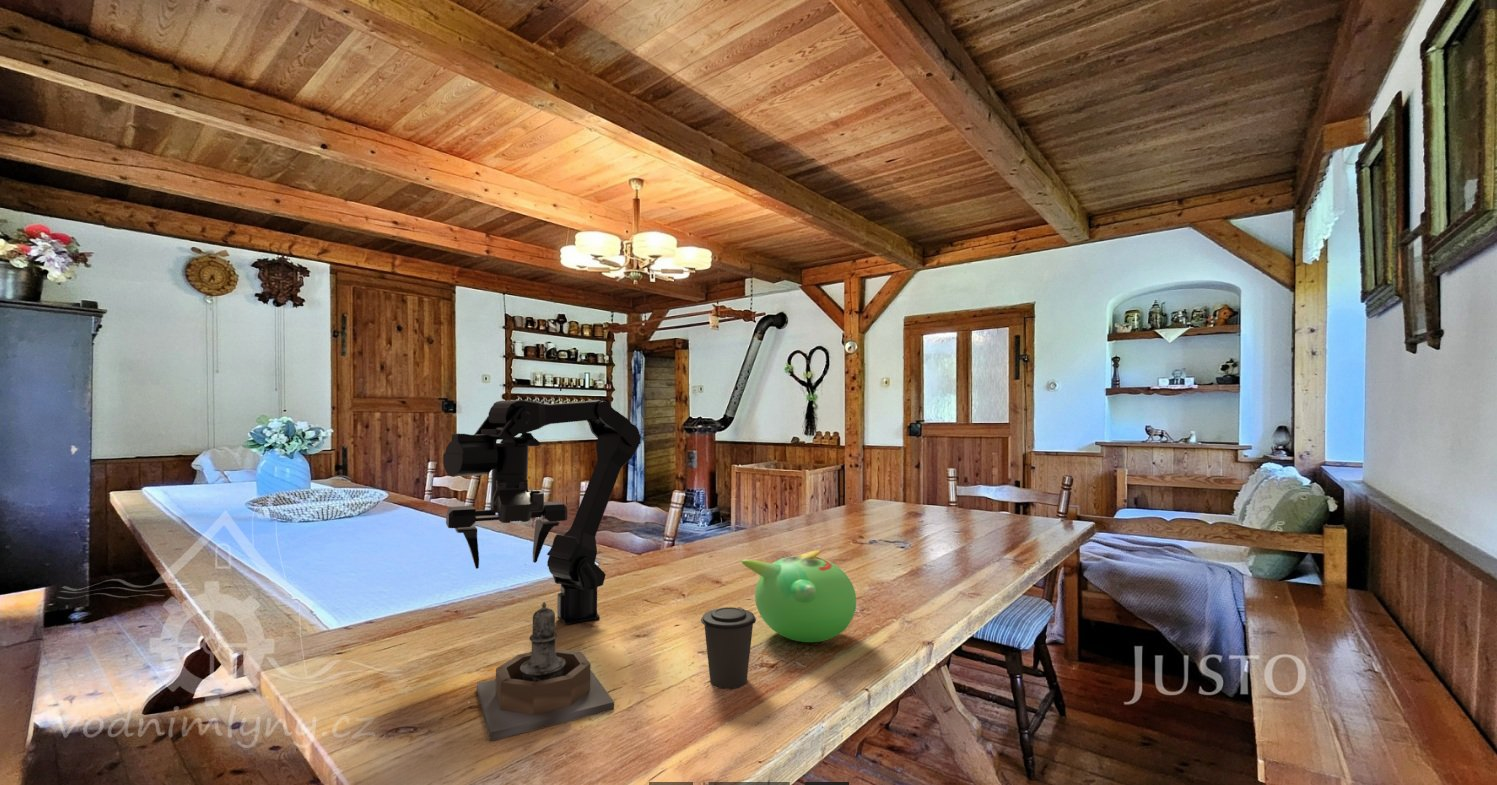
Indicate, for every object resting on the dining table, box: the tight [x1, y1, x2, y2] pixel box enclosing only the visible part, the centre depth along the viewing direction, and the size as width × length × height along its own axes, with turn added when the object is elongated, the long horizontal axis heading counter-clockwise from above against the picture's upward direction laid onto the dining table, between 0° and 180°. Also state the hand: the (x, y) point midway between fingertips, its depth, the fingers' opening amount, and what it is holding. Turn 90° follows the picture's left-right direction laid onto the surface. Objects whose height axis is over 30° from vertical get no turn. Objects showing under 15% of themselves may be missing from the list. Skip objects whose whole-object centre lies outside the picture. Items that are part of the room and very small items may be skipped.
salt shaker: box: [520, 601, 566, 682], centre depth 81 cm, size 6×6×12 cm
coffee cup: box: [700, 606, 757, 690], centre depth 86 cm, size 8×8×10 cm
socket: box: [476, 648, 615, 742], centre depth 80 cm, size 15×15×4 cm
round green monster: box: [741, 549, 857, 643], centre depth 103 cm, size 18×17×15 cm
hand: (506, 565), depth 101 cm, fingers open, 9 cm apart
